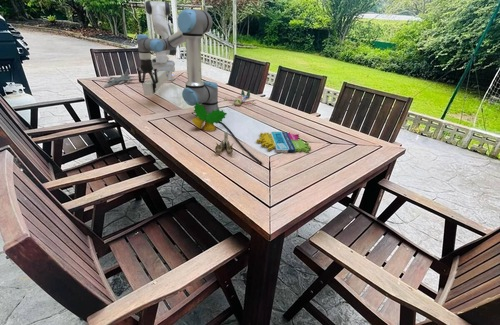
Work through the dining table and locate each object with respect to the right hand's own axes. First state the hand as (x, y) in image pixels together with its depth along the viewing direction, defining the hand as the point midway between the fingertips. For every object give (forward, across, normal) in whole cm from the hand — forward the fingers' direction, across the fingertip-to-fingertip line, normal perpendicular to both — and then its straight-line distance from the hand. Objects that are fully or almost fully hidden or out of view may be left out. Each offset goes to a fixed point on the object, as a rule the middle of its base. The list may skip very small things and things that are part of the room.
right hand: (150, 92), depth 193 cm
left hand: (-2, 0, -47) cm, 47 cm away
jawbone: (+11, -56, +73) cm, 93 cm away
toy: (+11, -69, -20) cm, 72 cm away
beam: (+1, 0, -23) cm, 23 cm away
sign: (+11, -90, +60) cm, 109 cm away
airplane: (+9, +46, -64) cm, 80 cm away
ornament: (+11, -46, +42) cm, 64 cm away
